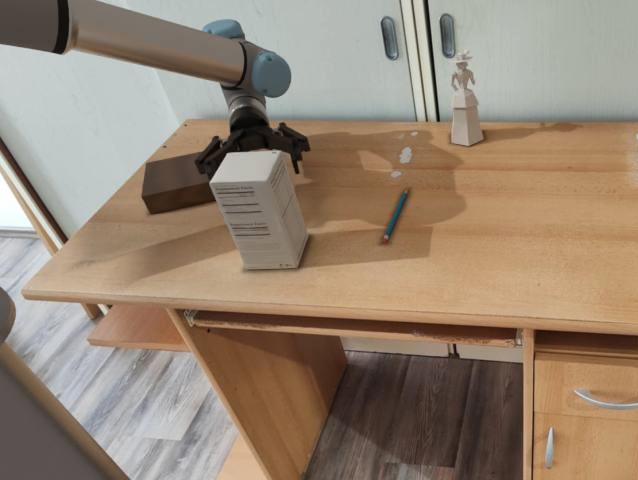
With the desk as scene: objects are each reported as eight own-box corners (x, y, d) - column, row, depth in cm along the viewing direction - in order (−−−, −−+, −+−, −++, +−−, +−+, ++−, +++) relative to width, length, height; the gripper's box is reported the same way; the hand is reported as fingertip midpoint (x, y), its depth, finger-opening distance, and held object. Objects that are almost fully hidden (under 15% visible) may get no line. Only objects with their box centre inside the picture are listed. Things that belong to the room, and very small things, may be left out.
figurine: (479, 127, 129) (474, 40, 116) (486, 144, 124) (482, 54, 111) (448, 131, 129) (440, 45, 116) (453, 148, 123) (445, 59, 110)
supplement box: (260, 237, 106) (226, 151, 93) (309, 235, 105) (282, 148, 93) (244, 271, 99) (206, 182, 87) (297, 269, 98) (266, 179, 86)
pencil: (382, 243, 102) (381, 240, 101) (405, 190, 113) (405, 187, 113) (386, 243, 102) (386, 240, 101) (409, 190, 113) (409, 187, 113)
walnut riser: (150, 214, 114) (140, 196, 111) (154, 180, 123) (145, 162, 121) (223, 198, 116) (215, 180, 113) (221, 165, 126) (214, 148, 123)
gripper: (317, 129, 120) (332, 179, 105) (192, 155, 116) (191, 211, 101) (307, 92, 114) (322, 139, 100) (176, 119, 110) (172, 172, 96)
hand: (256, 175), depth 100 cm, fingers open, 13 cm apart
